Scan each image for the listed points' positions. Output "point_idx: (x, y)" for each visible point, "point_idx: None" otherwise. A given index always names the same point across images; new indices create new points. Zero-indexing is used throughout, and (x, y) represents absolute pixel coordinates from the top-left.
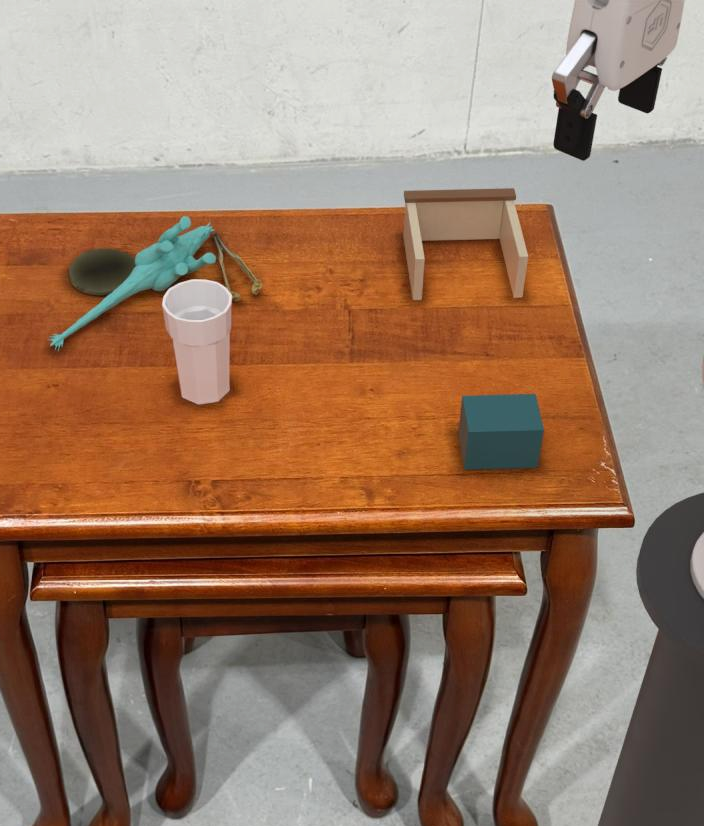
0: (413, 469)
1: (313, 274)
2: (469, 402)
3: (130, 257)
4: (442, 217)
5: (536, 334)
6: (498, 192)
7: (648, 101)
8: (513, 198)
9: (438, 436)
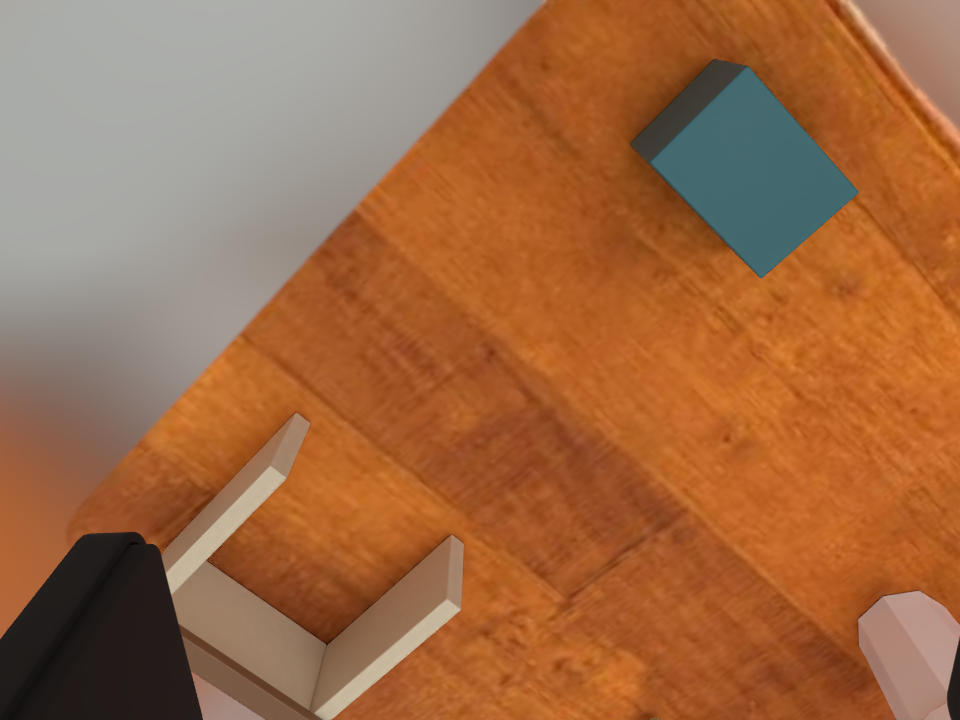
0: (870, 244)
1: (533, 693)
2: (772, 252)
3: None
4: (271, 653)
5: (365, 323)
6: None
7: (115, 612)
8: None
9: None
